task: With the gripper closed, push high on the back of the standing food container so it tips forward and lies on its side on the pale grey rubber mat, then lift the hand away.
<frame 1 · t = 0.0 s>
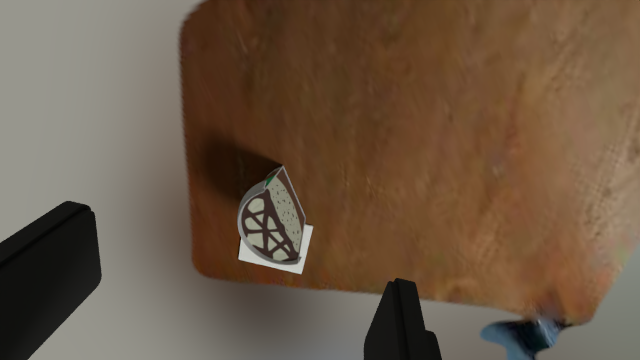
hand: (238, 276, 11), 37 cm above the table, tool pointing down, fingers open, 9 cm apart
food container: (276, 196, 52), on the table
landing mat: (274, 242, 56), on the table
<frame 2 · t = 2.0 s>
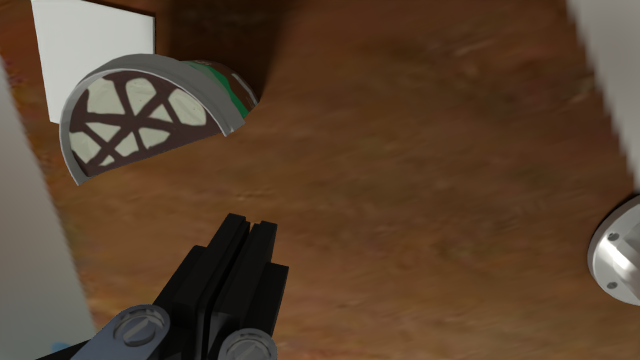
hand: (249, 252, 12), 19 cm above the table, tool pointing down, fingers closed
food container: (196, 84, 29), on the table
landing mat: (99, 73, 29), on the table
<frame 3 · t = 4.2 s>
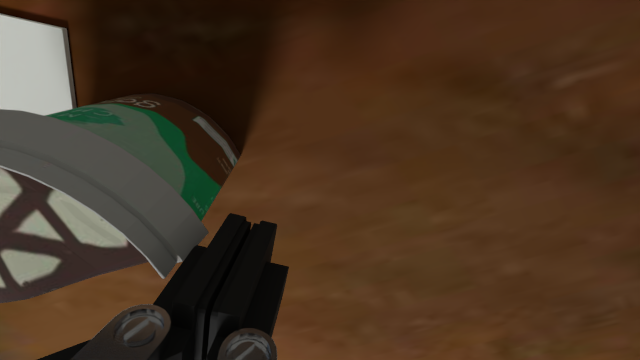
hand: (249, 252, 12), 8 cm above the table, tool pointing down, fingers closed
food container: (143, 129, 19), on the table, touching gripper
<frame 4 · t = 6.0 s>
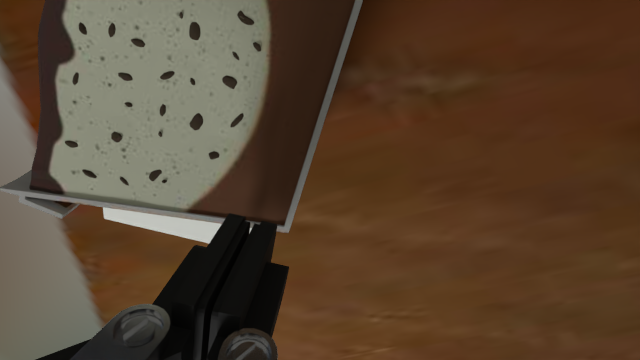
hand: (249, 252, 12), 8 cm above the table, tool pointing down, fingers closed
food container: (319, 113, 15), point 2 cm above the table, touching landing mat
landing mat: (186, 156, 19), on the table
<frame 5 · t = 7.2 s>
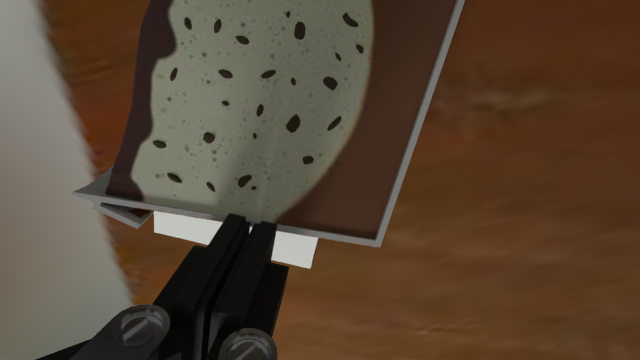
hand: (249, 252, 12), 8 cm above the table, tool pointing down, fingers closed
food container: (393, 127, 15), point 2 cm above the table
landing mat: (242, 170, 19), on the table
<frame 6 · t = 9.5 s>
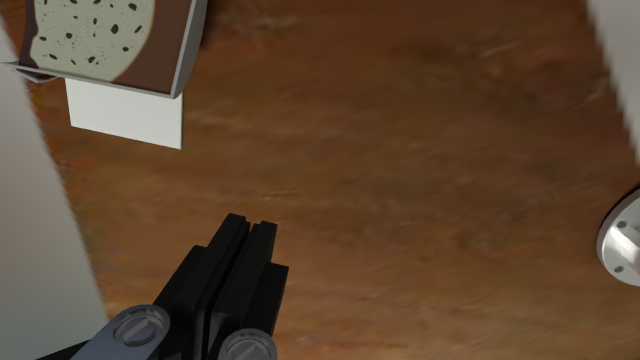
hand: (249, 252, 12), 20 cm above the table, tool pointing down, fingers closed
food container: (199, 38, 25), point 2 cm above the table, touching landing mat
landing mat: (124, 76, 29), on the table
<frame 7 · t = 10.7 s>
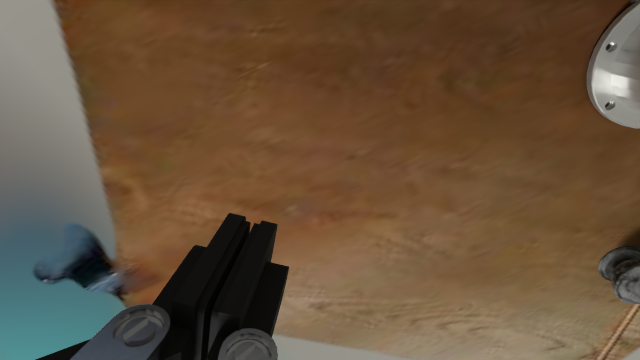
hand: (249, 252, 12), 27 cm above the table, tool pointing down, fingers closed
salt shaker: (621, 263, 42), on the table
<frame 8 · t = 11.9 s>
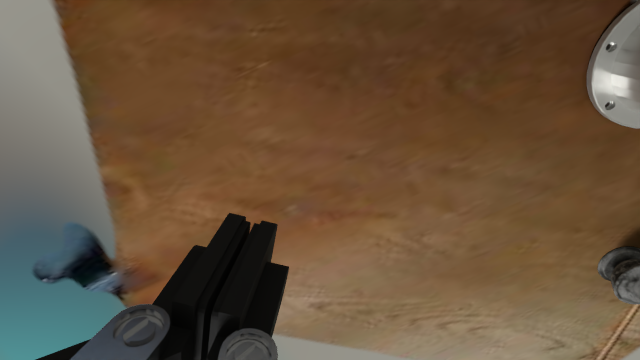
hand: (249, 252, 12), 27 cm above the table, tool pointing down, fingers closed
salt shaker: (620, 263, 42), on the table
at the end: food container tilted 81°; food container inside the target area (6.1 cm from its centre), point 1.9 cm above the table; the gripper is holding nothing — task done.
